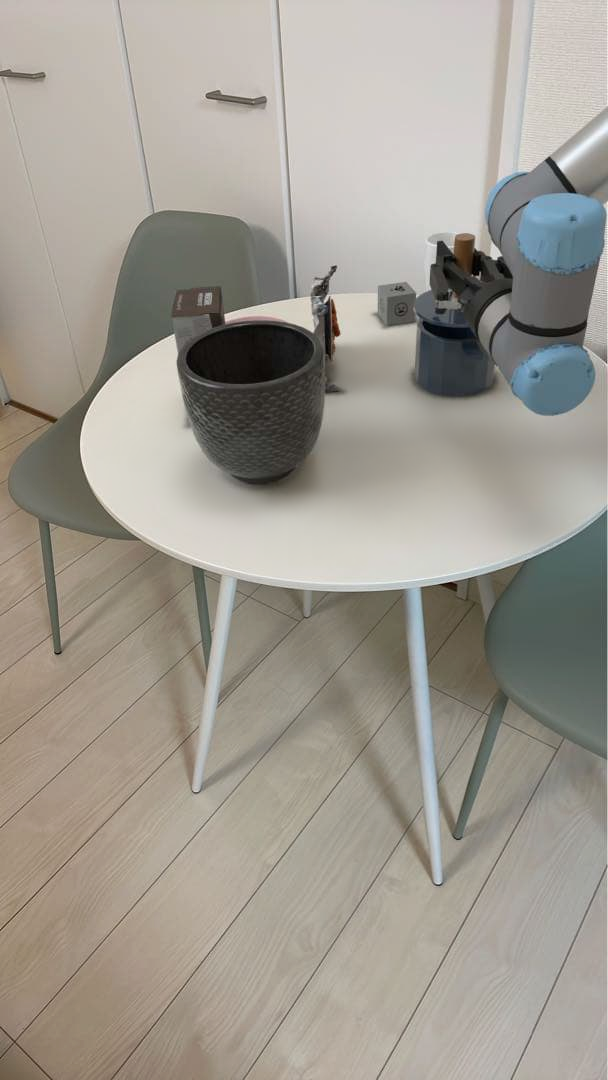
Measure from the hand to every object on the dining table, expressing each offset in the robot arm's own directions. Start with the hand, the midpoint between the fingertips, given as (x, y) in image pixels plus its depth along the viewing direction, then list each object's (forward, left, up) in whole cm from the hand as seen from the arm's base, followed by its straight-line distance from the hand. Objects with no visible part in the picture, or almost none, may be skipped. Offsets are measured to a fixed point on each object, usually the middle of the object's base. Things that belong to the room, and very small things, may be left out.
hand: (451, 249), depth 103 cm
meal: (+17, -4, -18) cm, 25 cm away
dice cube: (+3, -19, -18) cm, 26 cm away
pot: (-1, +3, -18) cm, 18 cm away
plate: (+28, -14, -18) cm, 36 cm away
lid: (0, +5, -6) cm, 8 cm away
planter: (+29, +20, -18) cm, 40 cm away
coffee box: (+35, +4, -18) cm, 40 cm away
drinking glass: (-3, -12, -18) cm, 22 cm away
